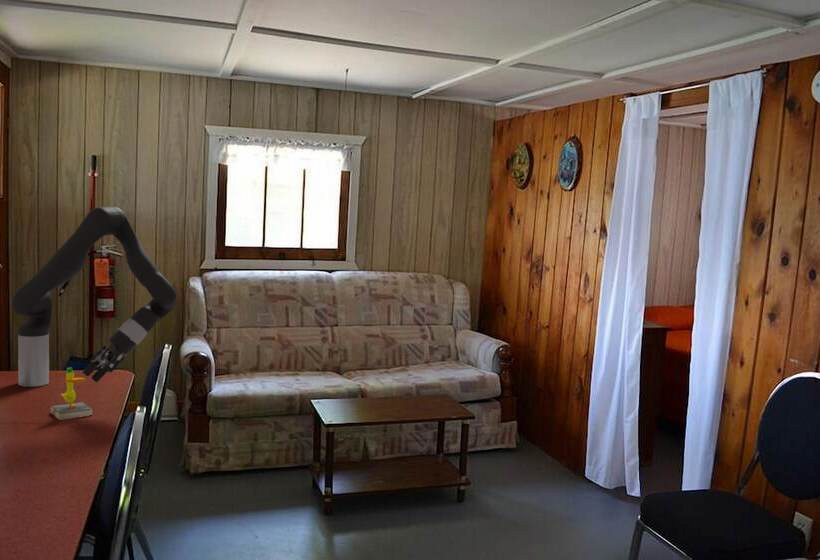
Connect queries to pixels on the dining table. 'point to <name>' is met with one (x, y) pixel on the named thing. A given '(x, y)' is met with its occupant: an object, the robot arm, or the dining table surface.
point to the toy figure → (71, 387)
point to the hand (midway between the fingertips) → (89, 377)
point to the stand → (71, 411)
